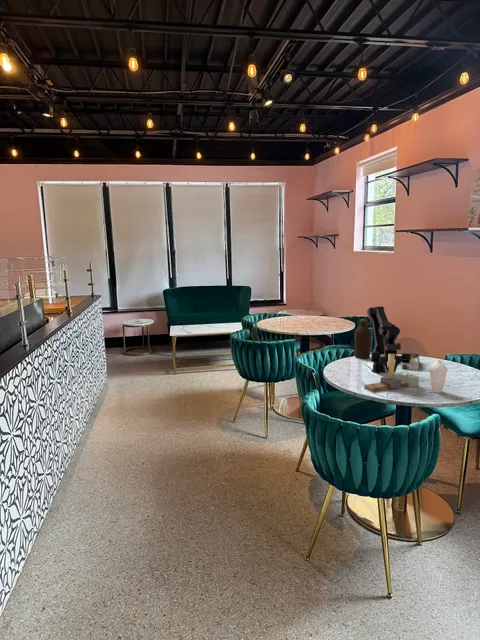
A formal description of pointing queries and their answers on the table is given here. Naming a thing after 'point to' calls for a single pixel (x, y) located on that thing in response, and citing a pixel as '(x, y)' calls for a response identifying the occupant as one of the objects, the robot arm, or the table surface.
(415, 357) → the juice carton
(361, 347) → the olive oil
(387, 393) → the table surface
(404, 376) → the gauge cabinet
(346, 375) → the table surface
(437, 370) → the soft serve ice cream cone
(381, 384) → the rail
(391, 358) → the grey block with handle
